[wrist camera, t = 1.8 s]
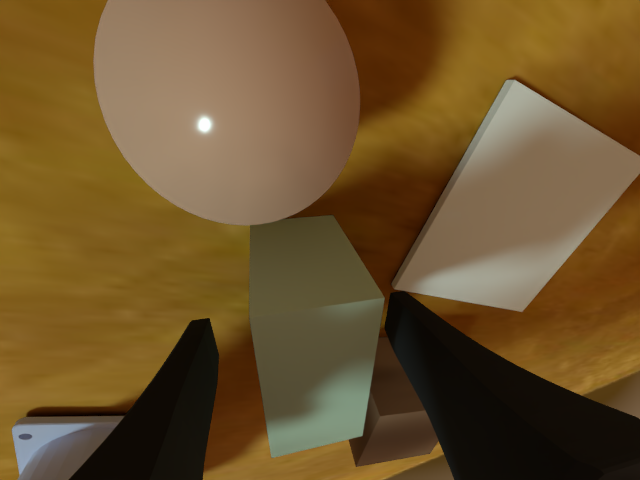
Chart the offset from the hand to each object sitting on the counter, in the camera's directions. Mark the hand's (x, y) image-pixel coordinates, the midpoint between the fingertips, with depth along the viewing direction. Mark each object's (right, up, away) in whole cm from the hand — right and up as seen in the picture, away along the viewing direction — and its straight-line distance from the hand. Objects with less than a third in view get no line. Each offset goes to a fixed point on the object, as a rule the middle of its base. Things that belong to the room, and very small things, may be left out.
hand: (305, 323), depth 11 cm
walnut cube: (+4, -4, +7) cm, 9 cm away
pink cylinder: (-2, +8, -2) cm, 8 cm away
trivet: (+11, +4, +3) cm, 12 cm away
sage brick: (-1, +1, +2) cm, 3 cm away
